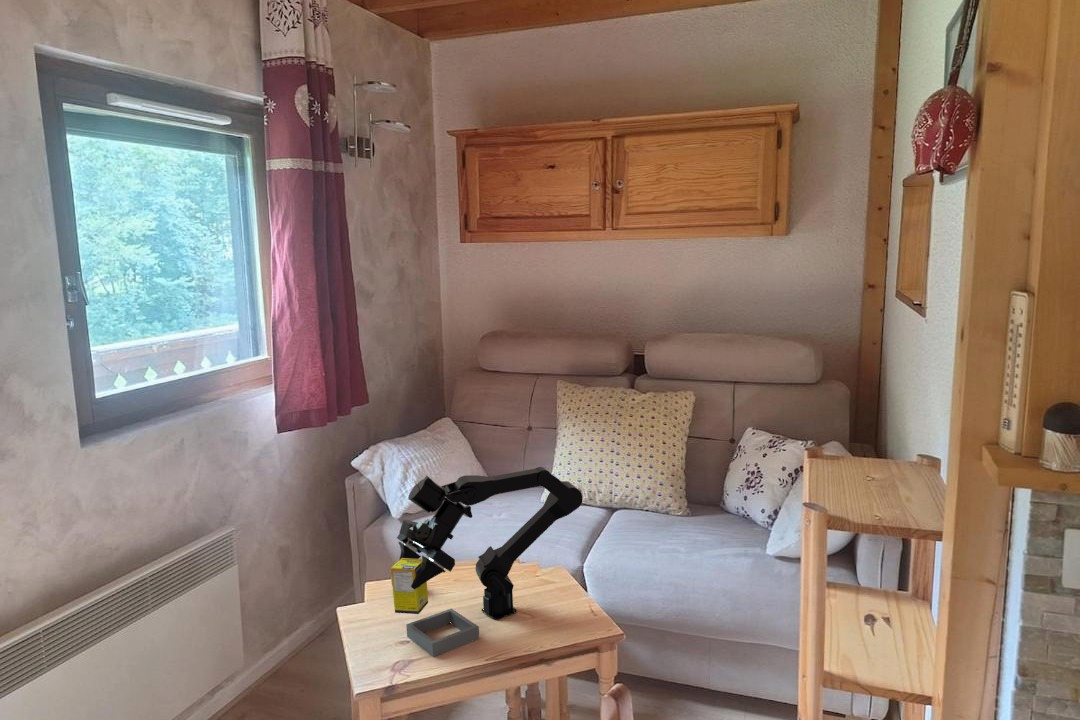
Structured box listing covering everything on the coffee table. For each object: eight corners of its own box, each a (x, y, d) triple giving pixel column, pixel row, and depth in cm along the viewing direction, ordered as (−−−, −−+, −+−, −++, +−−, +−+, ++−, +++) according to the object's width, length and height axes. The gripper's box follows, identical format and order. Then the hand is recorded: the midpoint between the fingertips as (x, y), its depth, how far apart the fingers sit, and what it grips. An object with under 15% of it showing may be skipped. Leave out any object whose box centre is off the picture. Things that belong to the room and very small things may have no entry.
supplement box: (428, 603, 174) (425, 558, 172) (418, 615, 168) (414, 569, 167) (405, 601, 175) (401, 557, 174) (394, 613, 170) (390, 567, 168)
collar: (452, 620, 179) (451, 608, 178) (479, 638, 169) (478, 626, 169) (407, 636, 171) (406, 624, 171) (432, 656, 162) (432, 643, 162)
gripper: (401, 497, 178) (361, 554, 173) (439, 515, 163) (397, 578, 158) (432, 520, 184) (395, 576, 179) (472, 540, 169) (433, 601, 164)
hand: (404, 582), depth 170 cm, fingers closed on supplement box, 8 cm apart
